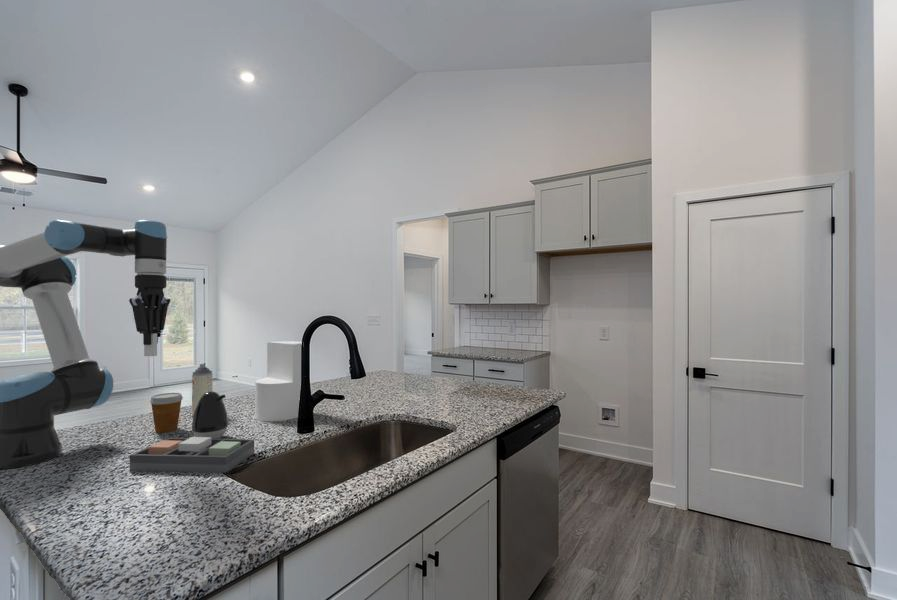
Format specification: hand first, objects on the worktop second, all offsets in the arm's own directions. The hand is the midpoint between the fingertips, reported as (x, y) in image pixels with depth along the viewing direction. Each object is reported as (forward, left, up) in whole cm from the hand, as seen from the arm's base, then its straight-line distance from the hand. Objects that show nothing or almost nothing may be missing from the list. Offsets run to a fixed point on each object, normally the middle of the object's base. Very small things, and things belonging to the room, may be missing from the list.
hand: (150, 355), depth 122 cm
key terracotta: (+9, -5, -26) cm, 27 cm away
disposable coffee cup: (-12, +22, -29) cm, 38 cm away
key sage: (+26, -5, -26) cm, 36 cm away
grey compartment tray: (+17, -5, -28) cm, 33 cm away
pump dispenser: (+9, +14, -29) cm, 33 cm away
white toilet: (+18, +43, -29) cm, 55 cm away
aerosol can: (-12, +41, -29) cm, 51 cm away
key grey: (+17, -5, -25) cm, 30 cm away
